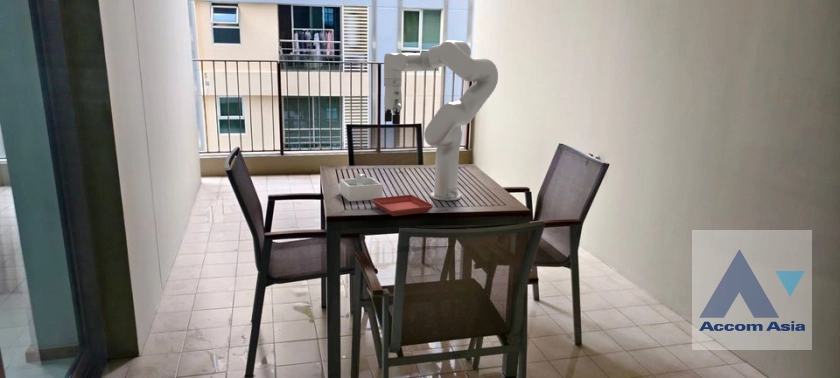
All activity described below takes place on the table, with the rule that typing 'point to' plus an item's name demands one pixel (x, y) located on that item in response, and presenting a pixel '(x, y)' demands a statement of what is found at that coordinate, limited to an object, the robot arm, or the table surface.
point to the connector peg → (360, 179)
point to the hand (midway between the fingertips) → (392, 122)
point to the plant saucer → (402, 205)
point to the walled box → (360, 189)
